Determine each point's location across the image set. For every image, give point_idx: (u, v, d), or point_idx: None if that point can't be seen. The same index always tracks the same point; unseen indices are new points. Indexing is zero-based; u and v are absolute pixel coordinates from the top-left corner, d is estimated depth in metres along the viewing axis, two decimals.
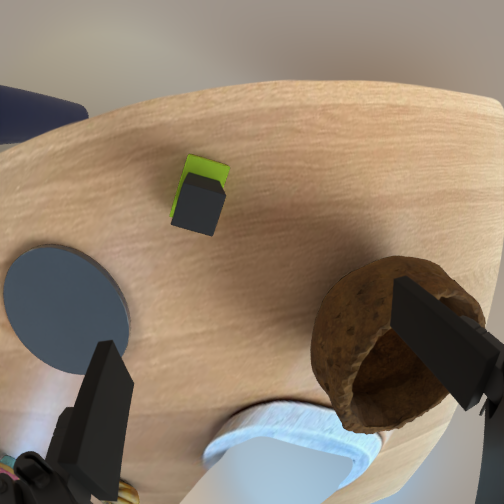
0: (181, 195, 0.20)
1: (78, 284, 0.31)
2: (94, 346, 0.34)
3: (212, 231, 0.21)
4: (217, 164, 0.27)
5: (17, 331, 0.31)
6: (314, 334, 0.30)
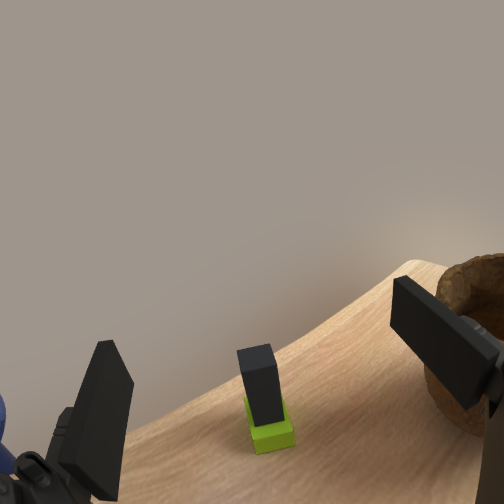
0: (239, 355, 0.26)
1: None
2: None
3: (274, 361, 0.24)
4: None
5: None
6: (447, 403, 0.19)
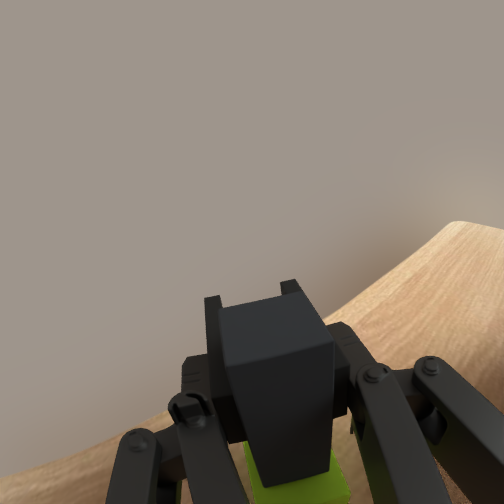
0: (223, 321, 0.10)
1: None
2: None
3: (326, 332, 0.08)
4: None
5: None
6: None
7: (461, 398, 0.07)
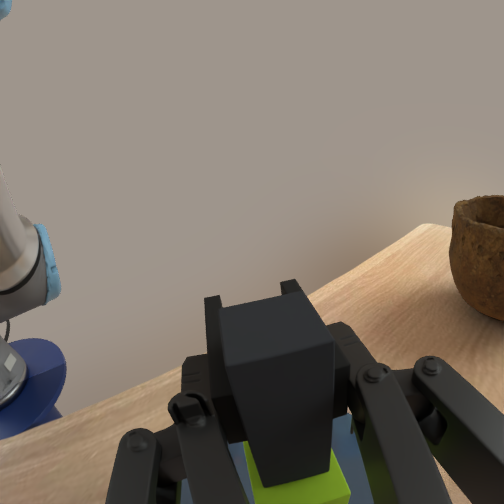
0: (223, 321, 0.10)
1: None
2: None
3: (327, 332, 0.08)
4: None
5: None
6: (473, 283, 0.29)
7: (461, 398, 0.07)
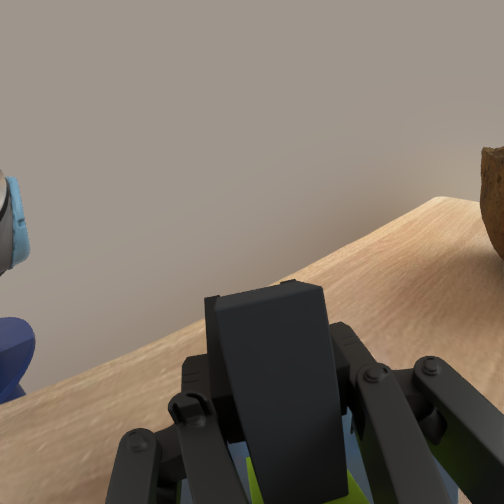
0: (219, 299, 0.10)
1: None
2: None
3: (314, 285, 0.09)
4: None
5: None
6: None
7: (461, 398, 0.07)
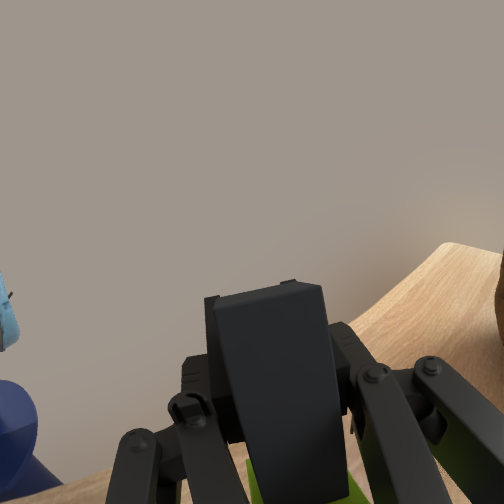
0: (219, 299, 0.10)
1: None
2: None
3: None
4: None
5: None
6: None
7: (461, 398, 0.07)
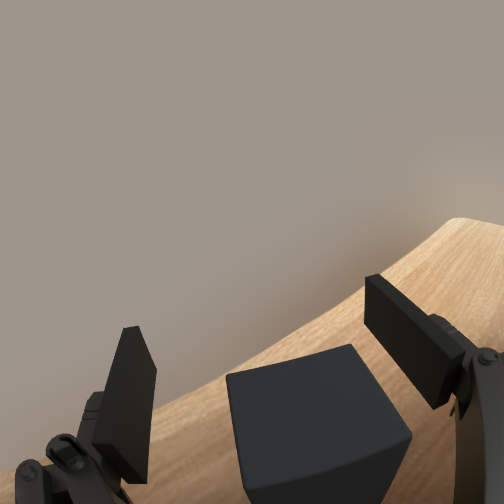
0: (236, 400, 0.06)
1: None
2: None
3: (400, 422, 0.04)
4: None
5: None
6: None
7: None
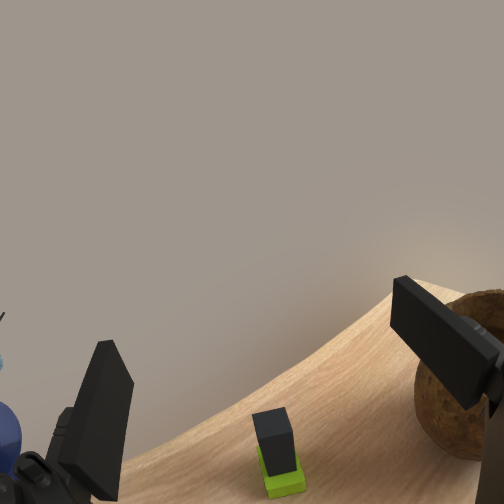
0: (254, 420, 0.24)
1: None
2: None
3: (290, 428, 0.23)
4: None
5: None
6: (432, 431, 0.21)
7: None
